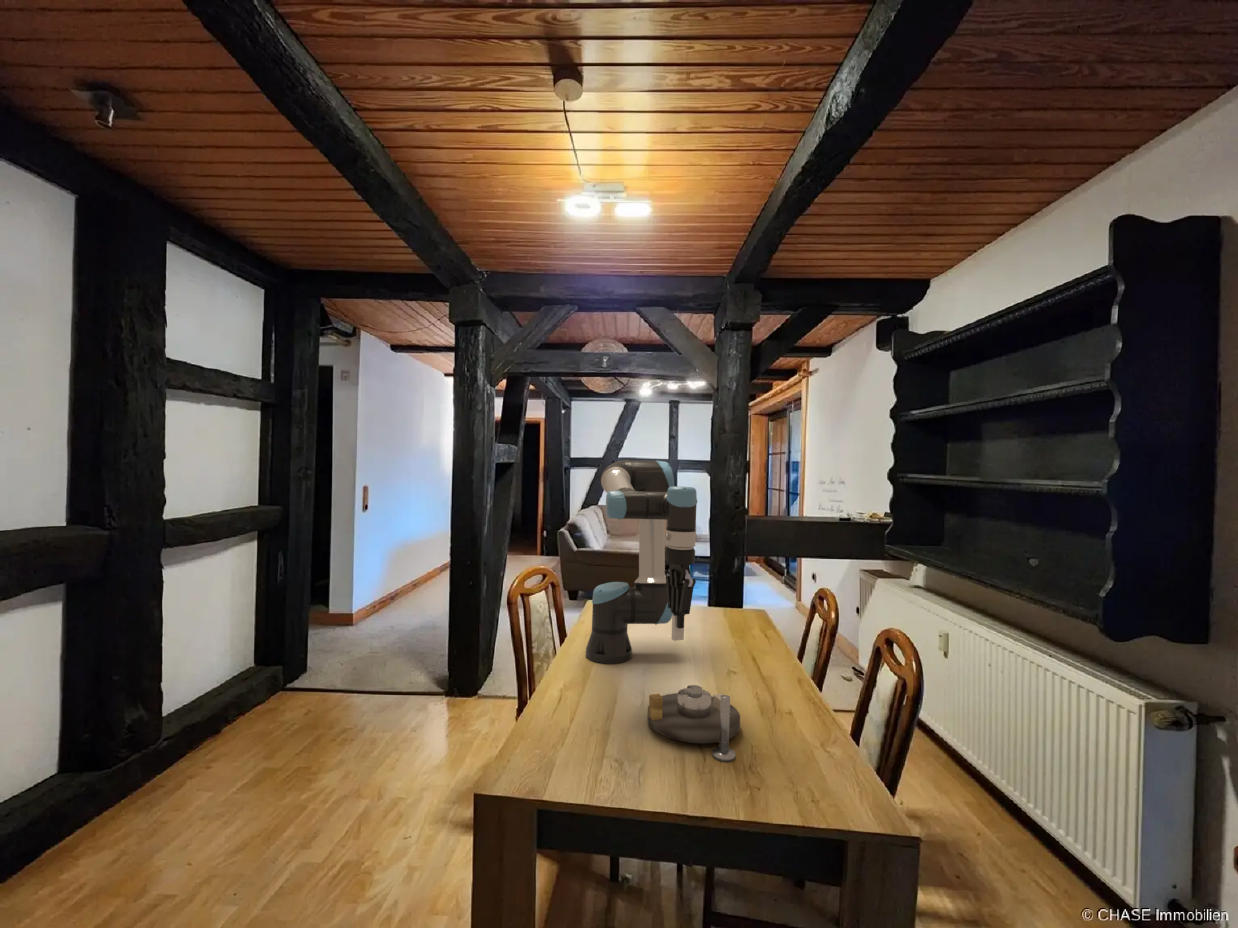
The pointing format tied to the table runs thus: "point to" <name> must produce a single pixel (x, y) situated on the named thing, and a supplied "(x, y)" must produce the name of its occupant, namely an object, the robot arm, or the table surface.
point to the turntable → (687, 721)
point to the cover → (694, 702)
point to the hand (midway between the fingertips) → (677, 639)
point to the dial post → (723, 729)
